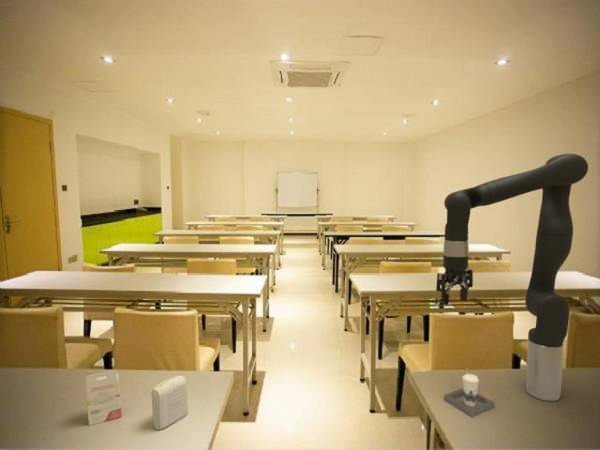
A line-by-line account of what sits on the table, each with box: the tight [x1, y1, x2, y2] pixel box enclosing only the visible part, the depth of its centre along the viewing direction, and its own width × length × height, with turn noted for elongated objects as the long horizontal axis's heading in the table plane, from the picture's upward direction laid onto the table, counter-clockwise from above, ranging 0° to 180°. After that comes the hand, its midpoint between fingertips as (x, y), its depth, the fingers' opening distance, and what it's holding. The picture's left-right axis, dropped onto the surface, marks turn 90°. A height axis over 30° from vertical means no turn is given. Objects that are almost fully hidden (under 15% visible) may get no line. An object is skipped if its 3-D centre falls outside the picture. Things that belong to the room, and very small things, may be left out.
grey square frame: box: [443, 388, 495, 418], centre depth 115 cm, size 10×10×2 cm
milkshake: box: [462, 367, 480, 408], centre depth 115 cm, size 4×5×10 cm
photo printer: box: [151, 375, 189, 431], centre depth 109 cm, size 10×4×12 cm, turn 144°
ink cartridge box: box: [84, 369, 122, 426], centre depth 110 cm, size 9×5×15 cm, turn 115°
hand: (454, 302), depth 124 cm, fingers open, 8 cm apart
